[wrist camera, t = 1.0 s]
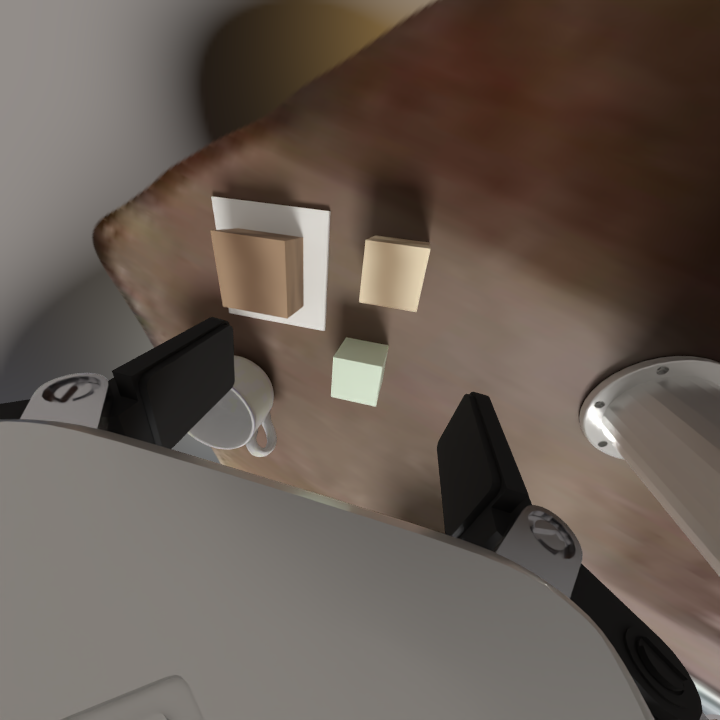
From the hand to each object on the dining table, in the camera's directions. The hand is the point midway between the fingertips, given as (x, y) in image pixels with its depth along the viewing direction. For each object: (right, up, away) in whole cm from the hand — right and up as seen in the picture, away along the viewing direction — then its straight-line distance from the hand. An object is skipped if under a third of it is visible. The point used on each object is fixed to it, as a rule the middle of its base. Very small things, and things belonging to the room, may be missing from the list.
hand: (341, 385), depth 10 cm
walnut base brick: (-9, +11, +17) cm, 22 cm away
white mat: (-8, +11, +18) cm, 23 cm away
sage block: (+1, +1, +21) cm, 21 cm away
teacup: (-14, -3, +27) cm, 31 cm away
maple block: (+4, +10, +15) cm, 19 cm away
